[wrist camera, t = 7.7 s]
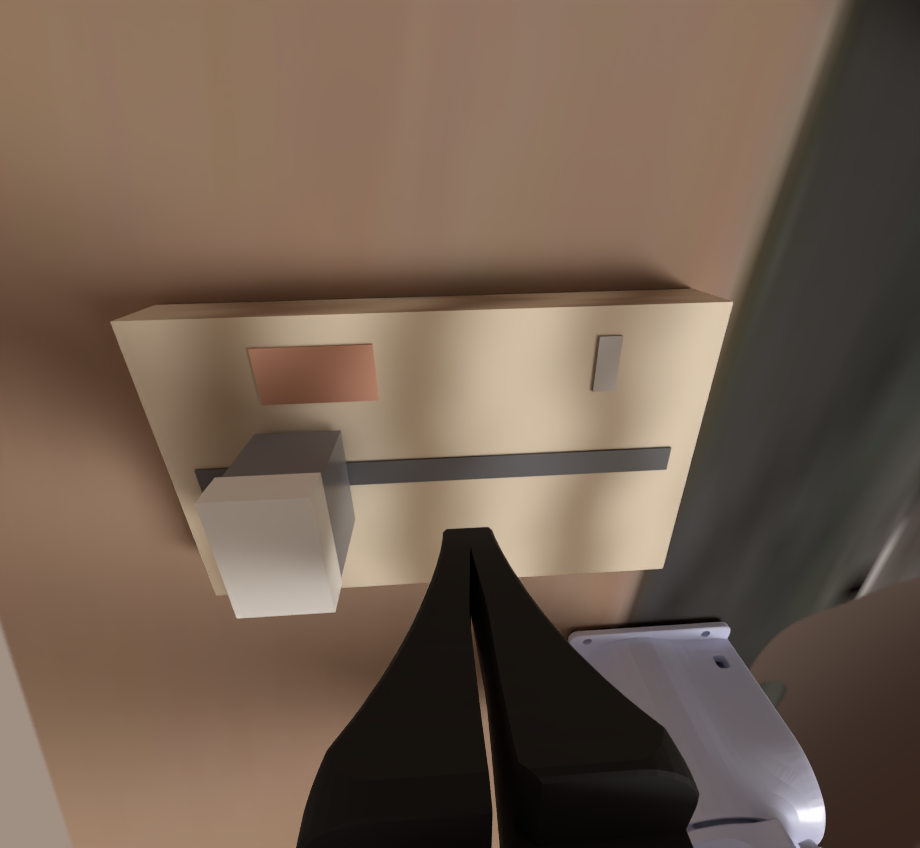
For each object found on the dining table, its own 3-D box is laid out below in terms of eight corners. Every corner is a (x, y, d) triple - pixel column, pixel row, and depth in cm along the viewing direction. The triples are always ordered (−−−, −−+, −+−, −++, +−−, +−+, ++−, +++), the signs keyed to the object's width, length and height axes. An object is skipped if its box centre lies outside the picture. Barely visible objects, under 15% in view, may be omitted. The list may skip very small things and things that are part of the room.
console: (692, 288, 17) (735, 302, 14) (639, 531, 22) (663, 570, 20) (155, 304, 16) (107, 322, 13) (238, 554, 21) (215, 597, 19)
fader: (340, 425, 15) (310, 497, 11) (356, 523, 17) (335, 612, 13) (252, 428, 15) (194, 503, 11) (279, 527, 17) (236, 618, 13)
